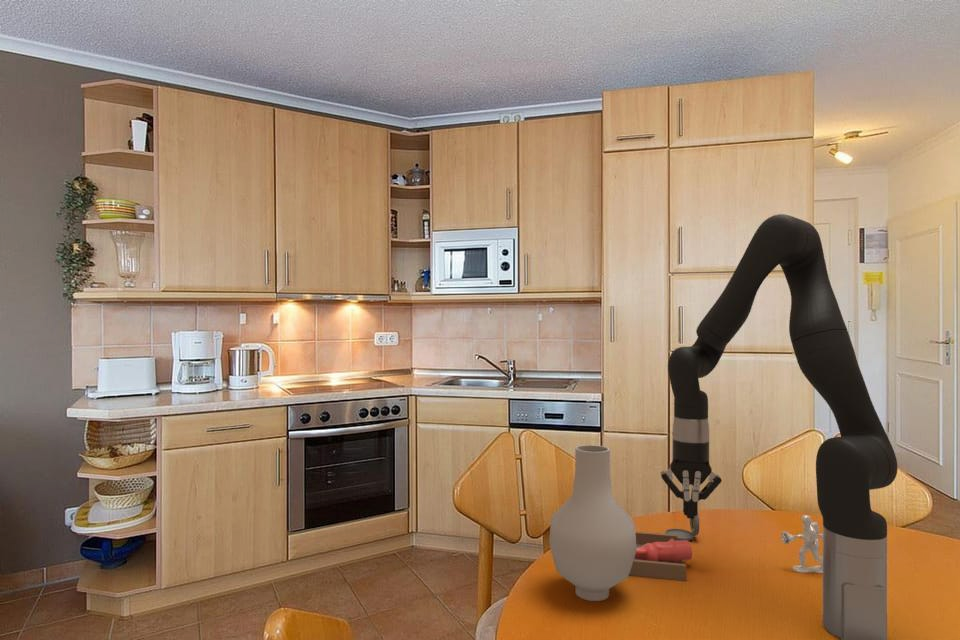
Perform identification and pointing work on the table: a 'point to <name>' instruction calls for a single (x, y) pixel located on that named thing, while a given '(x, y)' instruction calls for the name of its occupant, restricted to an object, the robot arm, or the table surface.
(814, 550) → the figurine
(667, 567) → the tray
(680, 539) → the pocket watch
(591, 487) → the vase
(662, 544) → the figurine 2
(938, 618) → the table surface
